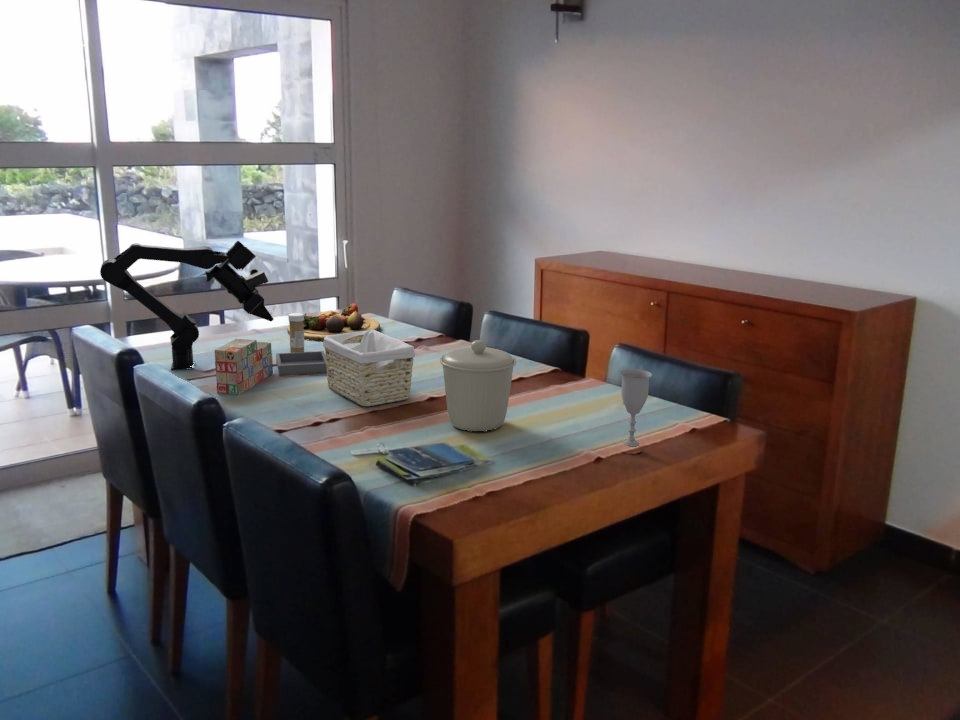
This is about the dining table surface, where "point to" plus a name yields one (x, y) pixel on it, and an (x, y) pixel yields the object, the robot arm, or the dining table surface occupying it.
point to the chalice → (634, 397)
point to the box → (301, 363)
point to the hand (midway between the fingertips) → (270, 317)
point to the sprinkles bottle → (296, 332)
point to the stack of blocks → (242, 365)
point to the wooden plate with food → (336, 323)
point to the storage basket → (369, 367)
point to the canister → (477, 386)
